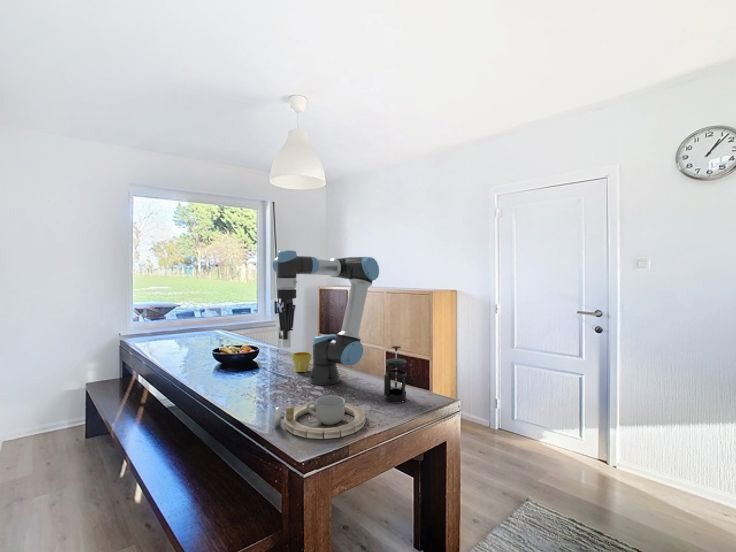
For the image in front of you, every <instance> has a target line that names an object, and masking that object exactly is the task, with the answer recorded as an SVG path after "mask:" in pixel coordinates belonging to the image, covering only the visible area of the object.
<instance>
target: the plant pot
mask: <svg viewBox="0 0 736 552" xmlns="http://www.w3.org/2000/svg"><path fill="white" fill-rule="evenodd" d="M291 359H292V361H293V365H294V370H295V372H296V373H298V372H305V373H307V372H309V366H310V362H311V360H312V353H311V352H309V351H299V352H298V351H296V352H293V353H292V356H291Z"/></svg>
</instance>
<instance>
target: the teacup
mask: <svg viewBox="0 0 736 552" xmlns="http://www.w3.org/2000/svg"><path fill="white" fill-rule="evenodd" d="M345 403H346V400H345V398H344V397H341V396H338V395H331V394H330V395H322V396H320V397H318V398H317V399H316V400H315V401H314V400H311V401H309V402H307V403H306V404H307V410H308V412H309V413H310V414H311V415H313V416H314V417H315V418H316V419H317V420H318V421H319V422H320V423H321V424H323V425H326V426H332V425H336V424H338V423H339V422H341V421H342V420H343V419H344V418H345V417H344V416H345V412H344V411H345ZM311 404H313V405H314V406H315V408H316V411H312V410H311V409H310V408H309V406H310V405H311Z"/></svg>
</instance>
